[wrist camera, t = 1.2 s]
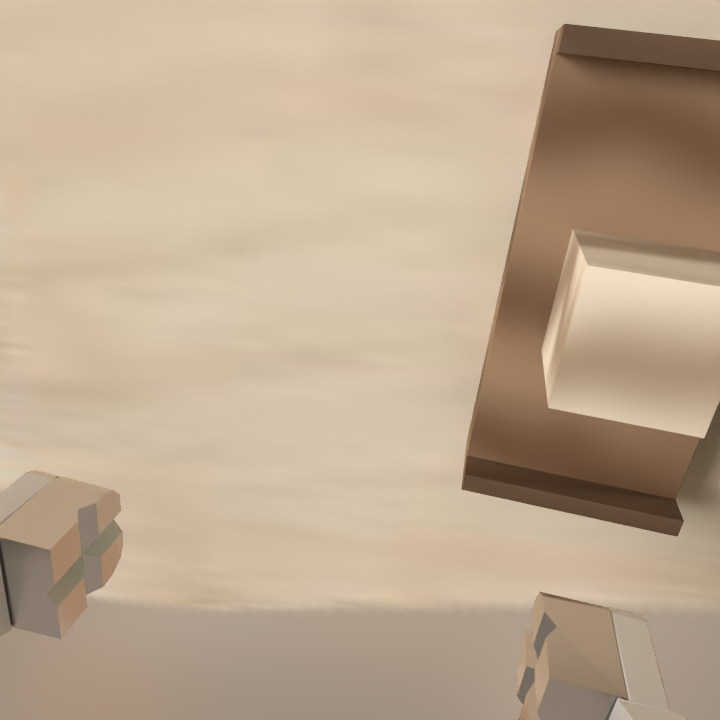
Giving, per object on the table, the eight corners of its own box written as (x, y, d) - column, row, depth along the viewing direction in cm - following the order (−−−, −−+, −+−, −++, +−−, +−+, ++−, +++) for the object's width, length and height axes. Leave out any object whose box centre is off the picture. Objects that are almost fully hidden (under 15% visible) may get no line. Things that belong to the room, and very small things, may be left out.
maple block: (572, 228, 24) (587, 265, 19) (713, 250, 23) (763, 293, 18) (541, 349, 26) (548, 407, 21) (669, 373, 25) (704, 438, 21)
